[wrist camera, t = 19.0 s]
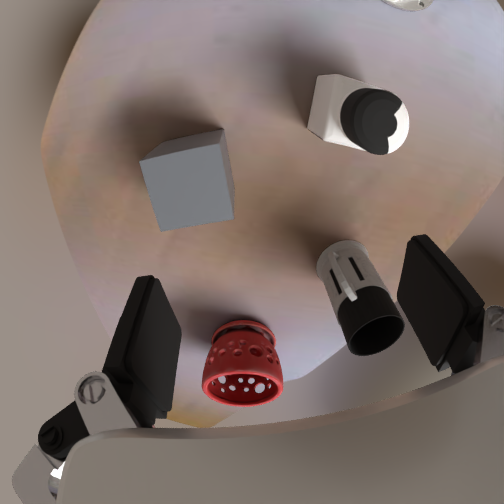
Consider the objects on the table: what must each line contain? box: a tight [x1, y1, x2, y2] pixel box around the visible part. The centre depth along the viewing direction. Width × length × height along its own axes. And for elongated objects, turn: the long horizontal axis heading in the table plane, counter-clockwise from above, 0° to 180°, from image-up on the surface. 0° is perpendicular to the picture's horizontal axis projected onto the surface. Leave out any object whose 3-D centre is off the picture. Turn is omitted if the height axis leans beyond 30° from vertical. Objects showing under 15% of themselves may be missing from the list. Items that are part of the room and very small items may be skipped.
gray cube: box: [139, 129, 235, 232], centre depth 30 cm, size 8×8×9 cm
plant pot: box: [202, 320, 283, 407], centre depth 46 cm, size 13×13×12 cm
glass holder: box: [316, 240, 405, 356], centre depth 35 cm, size 9×14×15 cm, turn 37°
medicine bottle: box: [307, 74, 409, 155], centre depth 25 cm, size 7×7×12 cm
